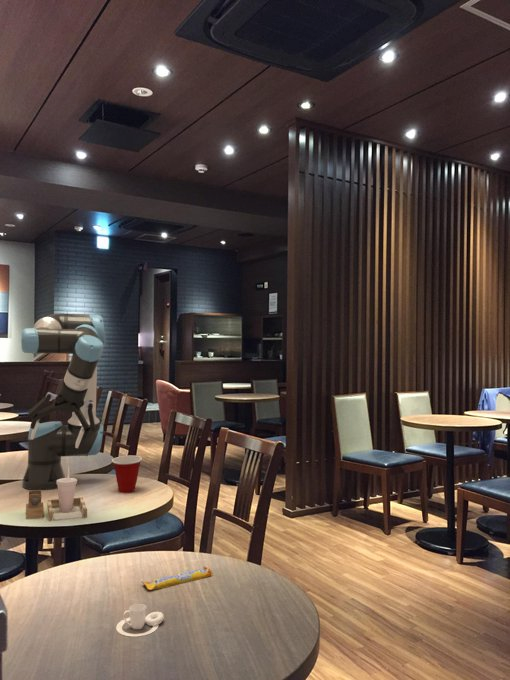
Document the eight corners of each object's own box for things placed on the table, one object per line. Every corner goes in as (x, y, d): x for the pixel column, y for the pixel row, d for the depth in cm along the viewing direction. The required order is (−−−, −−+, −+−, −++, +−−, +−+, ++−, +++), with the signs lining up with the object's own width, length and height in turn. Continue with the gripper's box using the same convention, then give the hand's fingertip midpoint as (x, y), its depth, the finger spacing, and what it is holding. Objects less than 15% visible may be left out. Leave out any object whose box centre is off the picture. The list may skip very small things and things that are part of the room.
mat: (52, 514, 179) (52, 513, 179) (80, 512, 182) (80, 511, 182) (53, 520, 174) (53, 519, 174) (82, 517, 177) (82, 516, 177)
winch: (25, 513, 181) (26, 490, 181) (42, 511, 182) (43, 489, 182) (25, 519, 175) (26, 495, 175) (43, 517, 176) (44, 494, 176)
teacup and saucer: (165, 618, 114) (165, 598, 114) (159, 639, 106) (160, 617, 106) (120, 618, 114) (121, 597, 114) (112, 639, 106) (112, 616, 106)
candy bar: (205, 572, 138) (206, 564, 138) (214, 578, 135) (214, 570, 135) (140, 587, 129) (140, 579, 129) (147, 594, 125) (147, 586, 125)
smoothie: (70, 513, 181) (71, 469, 181) (51, 512, 182) (52, 467, 182) (80, 508, 187) (81, 465, 187) (62, 506, 188) (63, 463, 188)
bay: (47, 507, 187) (47, 499, 187) (82, 504, 191) (82, 497, 191) (49, 521, 173) (49, 512, 173) (87, 517, 177) (87, 509, 177)
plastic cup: (104, 492, 207) (105, 459, 207) (122, 486, 217) (123, 454, 217) (130, 496, 203) (131, 462, 203) (147, 489, 213) (147, 456, 213)
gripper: (31, 380, 164) (11, 440, 171) (117, 400, 174) (94, 456, 181) (33, 367, 170) (14, 425, 177) (115, 387, 180) (94, 441, 187)
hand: (54, 441), depth 179 cm, fingers open, 13 cm apart
